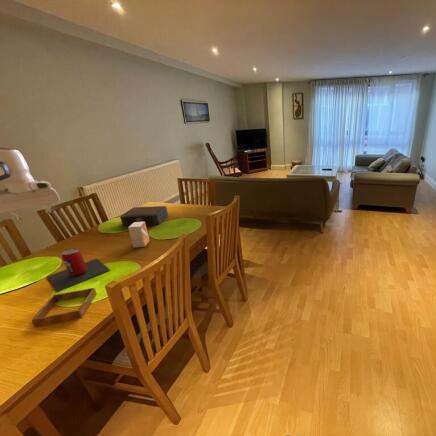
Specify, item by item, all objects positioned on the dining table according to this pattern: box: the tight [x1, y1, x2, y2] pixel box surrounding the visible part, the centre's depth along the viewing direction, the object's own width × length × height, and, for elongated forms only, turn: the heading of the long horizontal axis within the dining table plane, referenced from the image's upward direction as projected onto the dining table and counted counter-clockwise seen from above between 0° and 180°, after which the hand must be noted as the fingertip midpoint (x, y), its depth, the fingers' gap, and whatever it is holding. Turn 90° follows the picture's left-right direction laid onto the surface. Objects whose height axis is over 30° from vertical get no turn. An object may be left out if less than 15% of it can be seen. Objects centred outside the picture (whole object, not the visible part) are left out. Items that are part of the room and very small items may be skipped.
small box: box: [127, 222, 150, 248], centre depth 141 cm, size 8×6×13 cm
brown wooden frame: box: [31, 287, 98, 328], centre depth 94 cm, size 14×14×3 cm
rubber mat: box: [46, 258, 111, 293], centre depth 116 cm, size 20×18×1 cm
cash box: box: [120, 205, 169, 227], centre depth 176 cm, size 25×20×8 cm
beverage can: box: [61, 248, 87, 276], centre depth 114 cm, size 7×7×12 cm
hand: (34, 216), depth 108 cm, fingers open, 8 cm apart
